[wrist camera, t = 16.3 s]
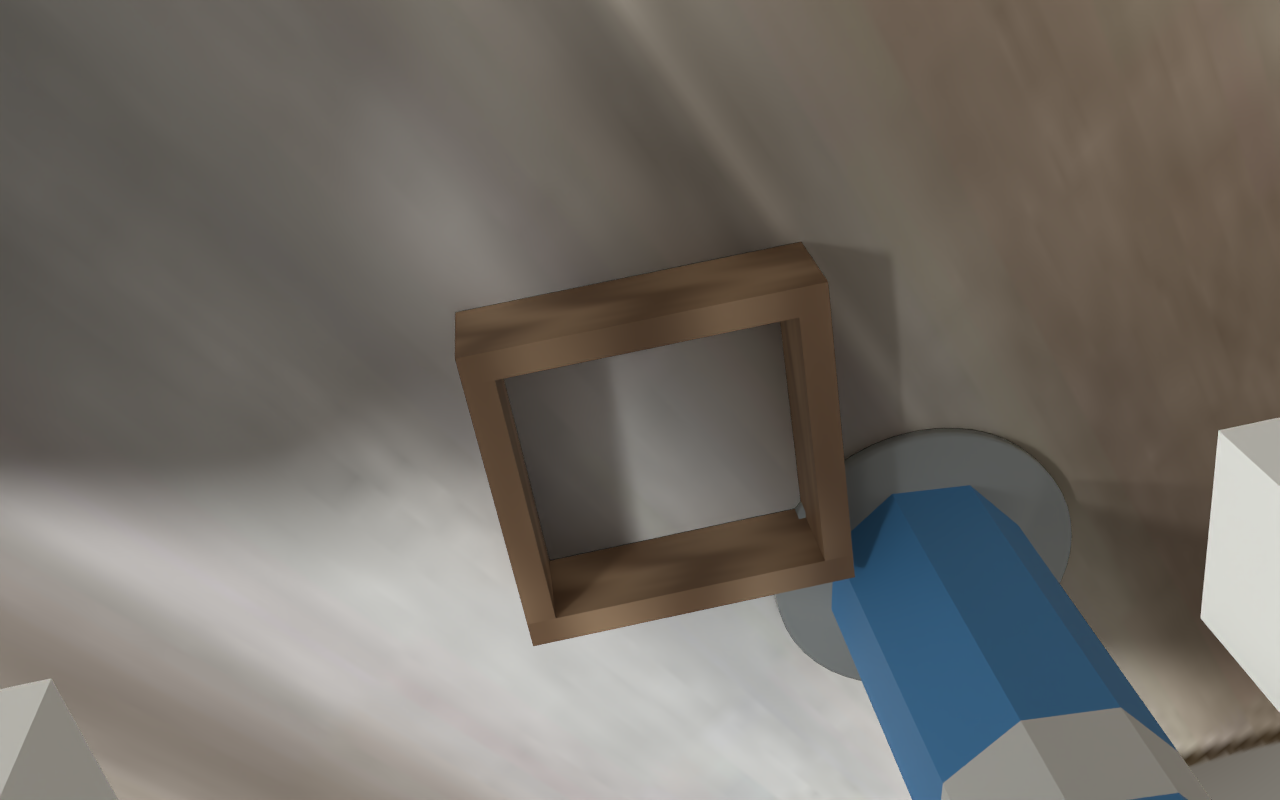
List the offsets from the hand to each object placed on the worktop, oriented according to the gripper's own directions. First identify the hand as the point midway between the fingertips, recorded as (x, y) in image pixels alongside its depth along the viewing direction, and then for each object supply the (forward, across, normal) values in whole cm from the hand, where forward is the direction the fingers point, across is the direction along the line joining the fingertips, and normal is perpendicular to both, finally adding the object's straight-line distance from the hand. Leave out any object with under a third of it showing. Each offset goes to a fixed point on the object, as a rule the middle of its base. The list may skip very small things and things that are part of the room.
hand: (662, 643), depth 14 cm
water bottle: (+32, +13, -27) cm, 44 cm away
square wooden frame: (+33, +2, -17) cm, 37 cm away
